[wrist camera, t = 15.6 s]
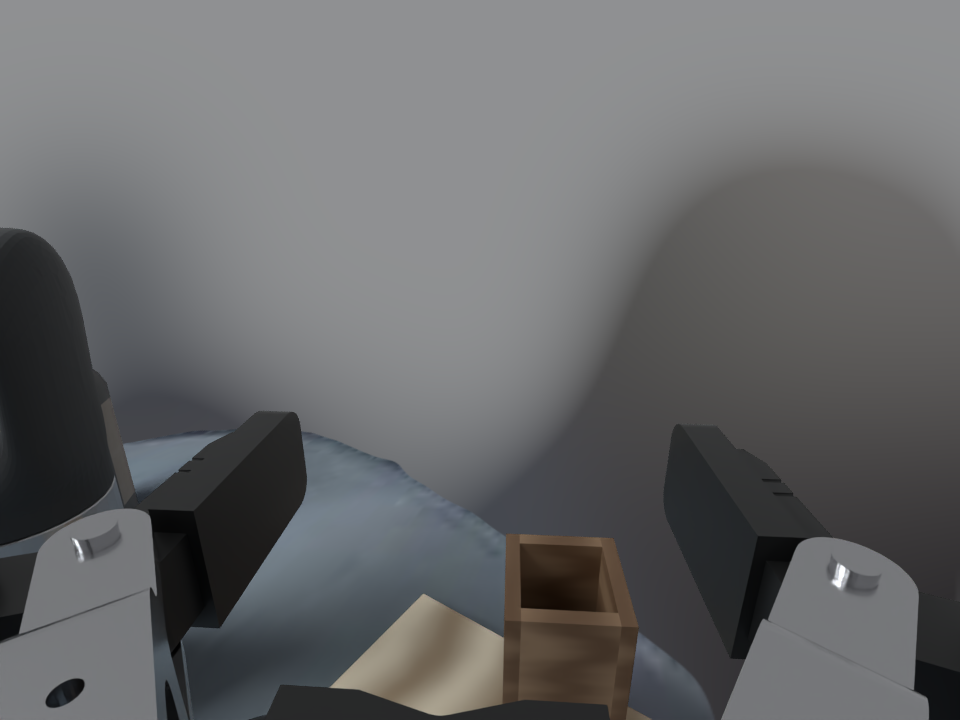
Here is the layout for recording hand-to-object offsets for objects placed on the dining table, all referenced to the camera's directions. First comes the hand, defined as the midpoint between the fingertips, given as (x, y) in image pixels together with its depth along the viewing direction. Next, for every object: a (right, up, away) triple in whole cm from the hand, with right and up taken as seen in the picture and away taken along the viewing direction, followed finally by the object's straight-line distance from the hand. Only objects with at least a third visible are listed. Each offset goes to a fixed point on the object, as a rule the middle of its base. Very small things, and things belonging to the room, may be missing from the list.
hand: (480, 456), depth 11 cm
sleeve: (+5, -23, +21) cm, 31 cm away
